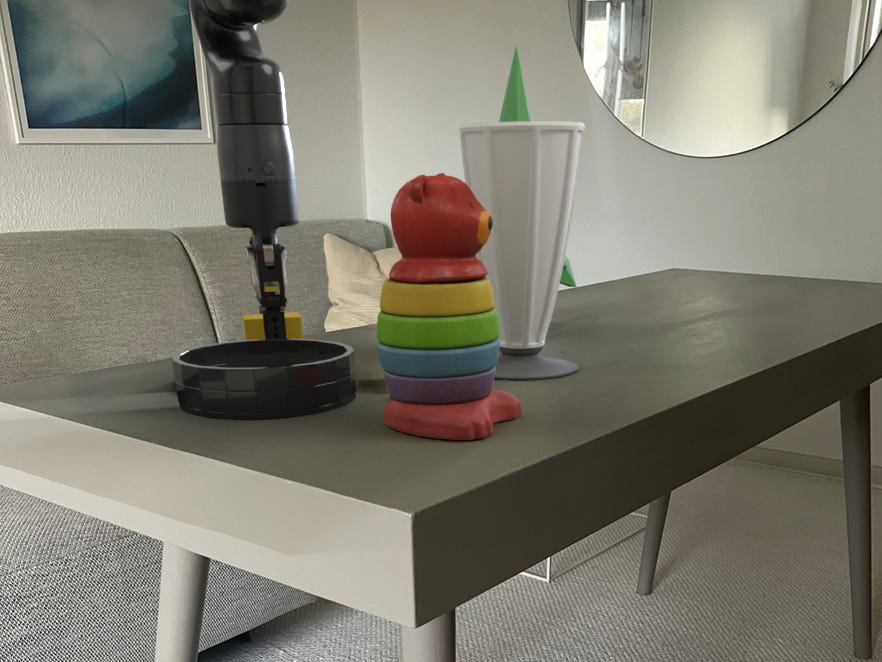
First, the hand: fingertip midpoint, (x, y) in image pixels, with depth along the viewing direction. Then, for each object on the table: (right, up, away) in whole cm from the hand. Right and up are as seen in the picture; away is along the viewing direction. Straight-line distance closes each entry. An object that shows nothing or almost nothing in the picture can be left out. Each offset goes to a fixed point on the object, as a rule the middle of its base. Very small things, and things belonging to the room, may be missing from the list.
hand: (274, 342), depth 107 cm
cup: (+26, -6, -9) cm, 29 cm away
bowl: (+4, -11, -21) cm, 24 cm away
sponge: (0, -1, 0) cm, 1 cm away
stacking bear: (+20, -15, -29) cm, 39 cm away
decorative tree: (+27, +5, +12) cm, 30 cm away
